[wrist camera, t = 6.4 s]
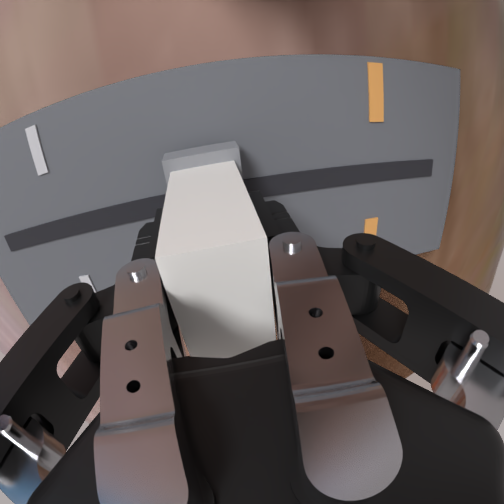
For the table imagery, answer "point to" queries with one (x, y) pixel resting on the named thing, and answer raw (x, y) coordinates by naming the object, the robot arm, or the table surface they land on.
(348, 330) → the robot arm
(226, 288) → the fader
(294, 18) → the table surface
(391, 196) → the console
